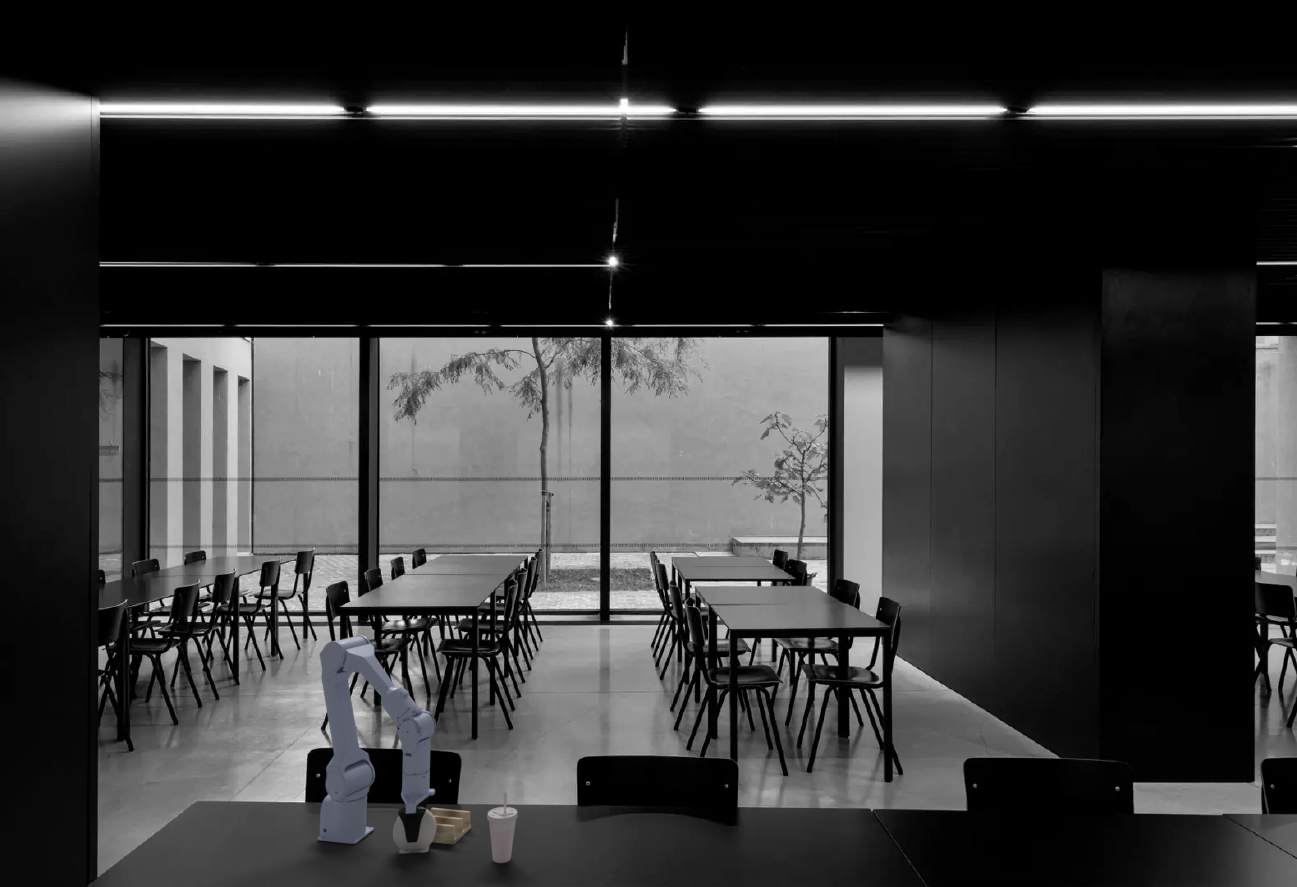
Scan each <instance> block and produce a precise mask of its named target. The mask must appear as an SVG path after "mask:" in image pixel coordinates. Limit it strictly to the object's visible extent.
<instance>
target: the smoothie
mask: <svg viewBox="0 0 1297 887" xmlns="http://www.w3.org/2000/svg"><path fill="white" fill-rule="evenodd" d="M507 797H508V794H507V790H506V791H504V792H503V806H498V807H495V808H492V809H490V810H489V811H488V812H487V817H486V818H487V821H488V823H489V834H490V842H491V843H490V844H491V852H492V861H493V862H494V863H498V864H504V863H508V862H510V860H511V859H512V851H513V845H514V843H513V842H514V836H515V830H516V829H515V828H516V823H517V822H516V821H517V819H518V810H517V809H516V808H514V807H511V806H510V807H509V806H507V802H508V800H507Z"/></svg>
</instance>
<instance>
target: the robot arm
mask: <svg viewBox="0 0 1297 887" xmlns="http://www.w3.org/2000/svg"><path fill="white" fill-rule="evenodd" d="M319 659H320V666H321V676H320V678H321V684H322V689H323V690H322V691H323V694H324V696H323V697H324V702H325V708H326V713H327V720H328V726H329V731H330V737H331V745H332V751H333V756H332V757H331V759H330V761H329V763H328V764H327V766H326V768H325V770H326V779H325V789H326V792H327V795H326V796H325V798H324V799H323V801H322V803H321V807H320V813H319V814H320V819H319V836H318V837H317V841H322V842H324V841H325V842H332V843H340V844H348V845H349V844H350V845H355V844H358V843H359V842H360V841H361V840H363V839H364V838H365V837H366V836H368V835H369V834H370V833H371V832H373V831H375V828H374V827H371V826H367V810H368V809H367V804H368V801H367V800H368V793H369V791H370V787H371V786H372V785H373V783H374V781H375V778H376V772H375V768H374V766H373V764H372V762H371V761H370V755H369V753H368V752H366V751H365V750H364V749H362V748H360V744H359V738H358V732H357V726H356V720H355V715H354V708H353V701H352V697H351V692H350V691H351V690H350V686H349V678H350V677H351V676H352V675H353V673H359V674H360V675H361V676H362V677H364V679H365V680H366V682H368V683H369V684H370V686H371V687H373V689H374V690H375V691H376V692H377V693H378V694H379V695H380V696H381V703H380V706H381V707H382V708H383V709H384V710H385V712H386V714H387V715H388V716H389V717H390V719H391V720H392V721H393V722H394V724H395V725H396V727H397V728H398V729H397V730H396V732H397V737H398V740H399V741H400V744H401V750H402V751H401V752H402V778H401V779H402V784H401V785H402V786H401V787H402V788H401V791H400V792H401V793H400V796H401V799H402V801H403V802H404V805H405V807H399V808H398V816H399V817H400V819H401V821H402V823H403V826H404V830H405V836H406V840H407V843H414V842H417V840H418V837H419V832H420V826H421V821H422V818H423V816H424V814H425V812H426V809H427V807H428V803H429V801H430V798H431V797H432V796H434V795H435V793H436V790H435V789H434V788H430V779H431V778H430V777H431V776H430V775H431V774H430V773H431V771H430V768H431V767H430V766H431V737H432V736H433V735H434V734H435V733H436V730H437V721H436V719H435V717H434V716H433V713H431V711H428V710H424V709H422V708H421V707H419V706H418V704H417V703H416V702H415V701H414V700H413V698H412V697H411V696H410V693H409V691H408V690H407V689H405V688H404V687H402V686H395V684H394V683H393V681H392V679H391V678H390V676H389V675H388V674H387V672H386V671H385V669H384V668H383V666H382V665H381V663H380V662H379V660H378V659H377V657H376V655H375V646H374V645H373V644H372V643H371V642H370V640H369V638H368V637H367V636H365V635H363V634H358V635H355V636H352V637H347V638H342V639H340V640H332V641H328V642H327V643H326V644H325V645H324V647H323V648H322V650H321V651H320V653H319ZM418 807H423V808H426V809H418Z"/></svg>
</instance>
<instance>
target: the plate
mask: <svg viewBox="0 0 1297 887" xmlns="http://www.w3.org/2000/svg"><path fill="white" fill-rule="evenodd" d="M418 809H426V812H425V814H424V816H423V818H422V821H421V826H420V832H419V837H418V840H417V842H414V843H407V840H406V836H405V830H404V826H403V823H402V821H401V819H400V817H399V815H398V817H396V821H395V822H394V825H393V829H392V837H393V841H394V843H395V845H396V846H397V847H398V848H399V851H398V852H399V854H413V853H414V854H416V853H429V850H430V845H431V844H432V843H433V842H432V841H433V839H434V837H435V833H436V829H437V823H436V819H435V817H434V815H433V814H432V813H431V810H429V809H428V808H427V807H426V808H423V807H418Z"/></svg>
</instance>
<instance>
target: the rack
mask: <svg viewBox="0 0 1297 887" xmlns="http://www.w3.org/2000/svg"><path fill="white" fill-rule="evenodd" d="M430 812H431V813H432V814H433V815H434V817H435V819H436V823H437V829H436V833H435V837H434V839H433V841H432V843H436V844H437V843H438V844H445V845H446V844H447V845H455V844H456V843H457V842H458V841H460V839H461V838H463V836H464V835H465V834H467V833H468V832H469V830H471V828H472V824H471V810H470V811H469V810H460V809H458V810H457V809H449V808H439V807H431V808H430Z"/></svg>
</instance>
